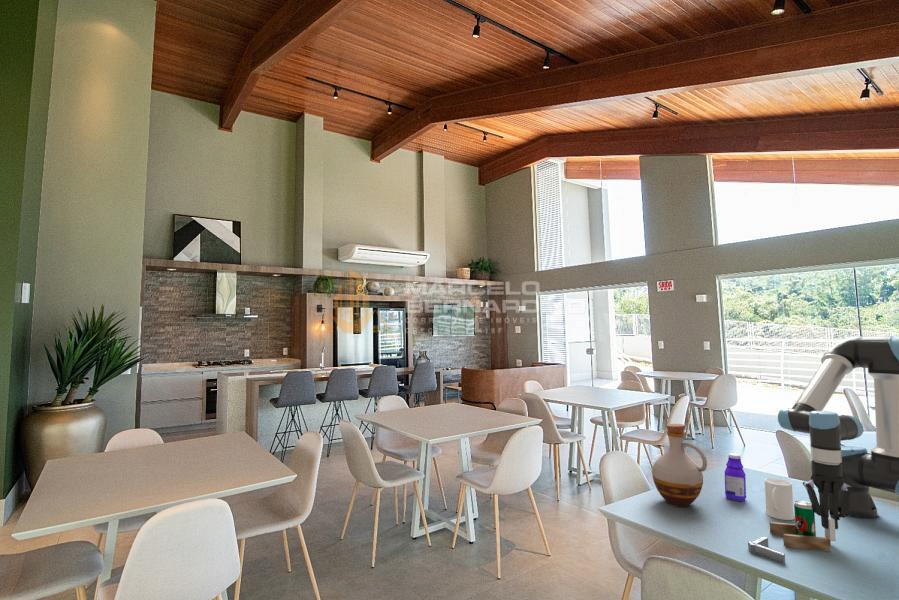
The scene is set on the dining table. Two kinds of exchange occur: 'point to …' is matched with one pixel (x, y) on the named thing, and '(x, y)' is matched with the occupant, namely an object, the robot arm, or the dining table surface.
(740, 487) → the bottle
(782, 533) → the guide channel
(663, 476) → the jug
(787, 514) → the mug
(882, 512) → the dining table surface
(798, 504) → the soda can
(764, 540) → the v block
